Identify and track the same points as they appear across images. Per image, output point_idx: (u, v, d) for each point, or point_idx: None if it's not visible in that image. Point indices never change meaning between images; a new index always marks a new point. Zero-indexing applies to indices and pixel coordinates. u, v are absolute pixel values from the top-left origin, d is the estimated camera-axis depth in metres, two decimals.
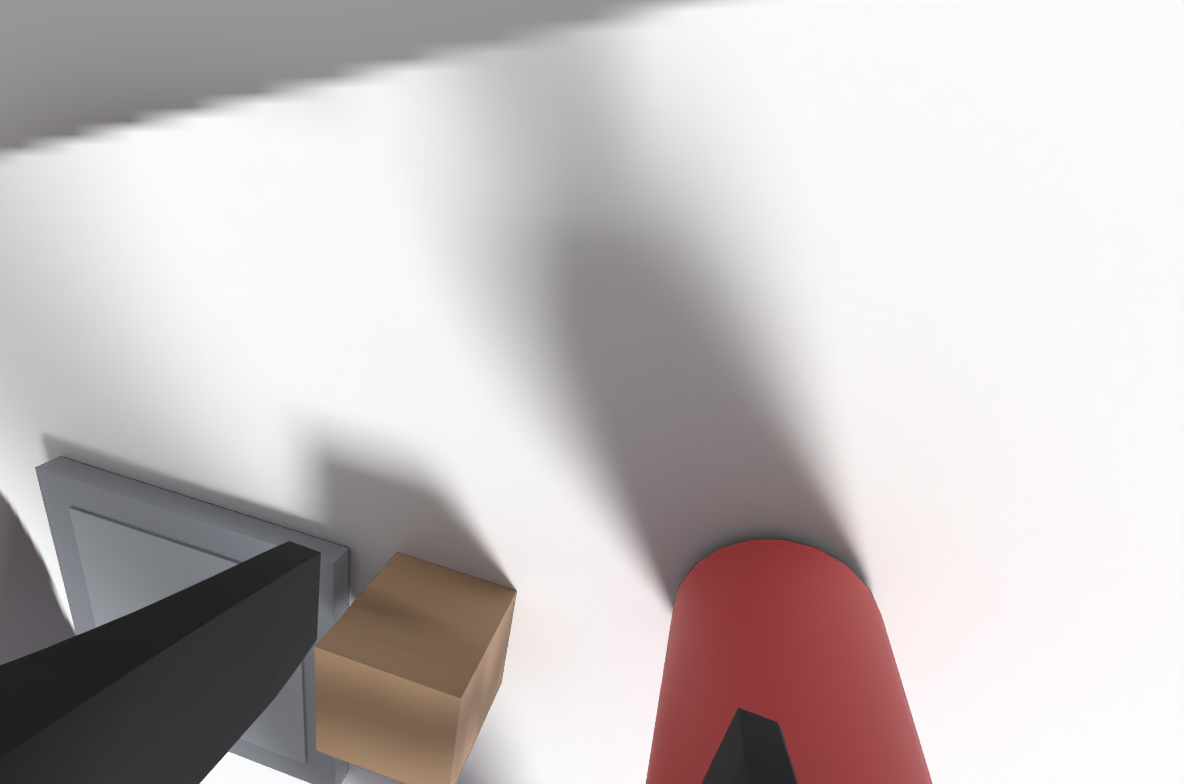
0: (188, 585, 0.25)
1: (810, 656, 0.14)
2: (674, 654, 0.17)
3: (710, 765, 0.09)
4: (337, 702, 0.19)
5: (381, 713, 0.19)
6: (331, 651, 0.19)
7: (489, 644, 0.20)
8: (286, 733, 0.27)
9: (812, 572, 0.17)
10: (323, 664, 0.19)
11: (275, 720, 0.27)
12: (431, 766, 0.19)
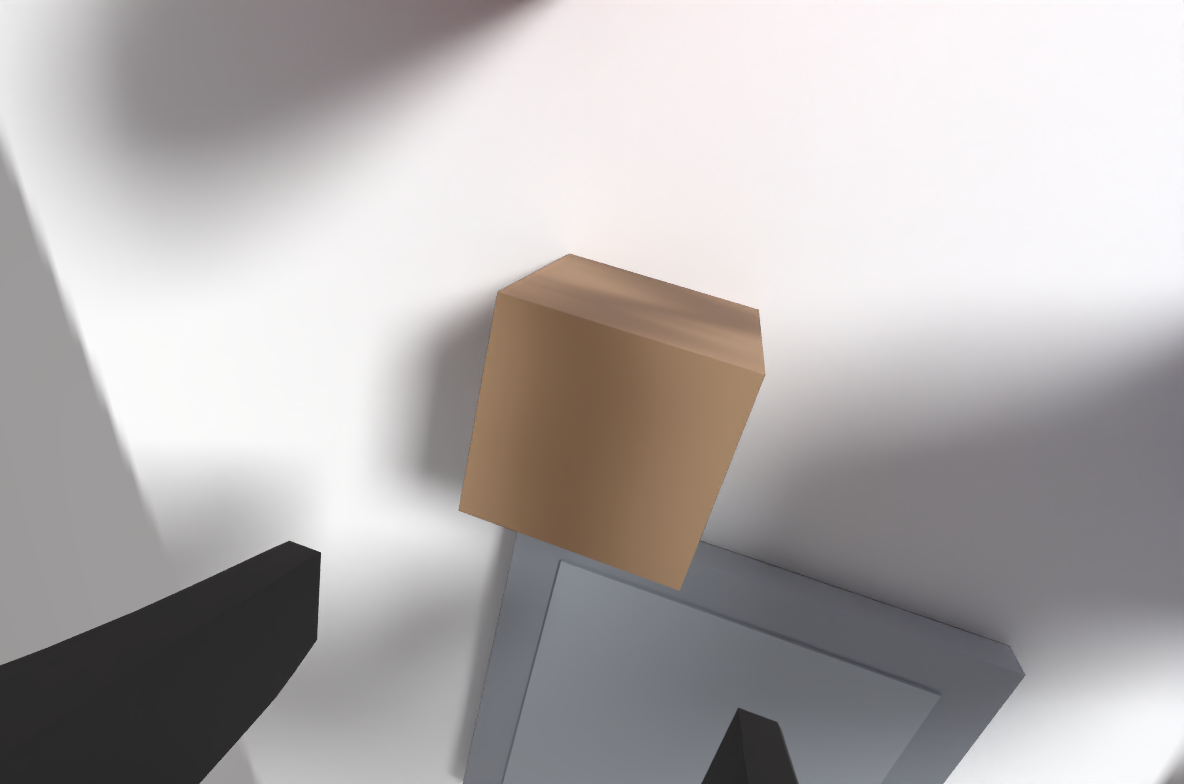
0: (588, 707, 0.19)
1: None
2: None
3: (710, 765, 0.09)
4: (560, 513, 0.12)
5: (565, 445, 0.12)
6: None
7: (543, 272, 0.13)
8: (864, 697, 0.17)
9: None
10: (488, 509, 0.13)
11: (834, 701, 0.17)
12: (673, 386, 0.11)
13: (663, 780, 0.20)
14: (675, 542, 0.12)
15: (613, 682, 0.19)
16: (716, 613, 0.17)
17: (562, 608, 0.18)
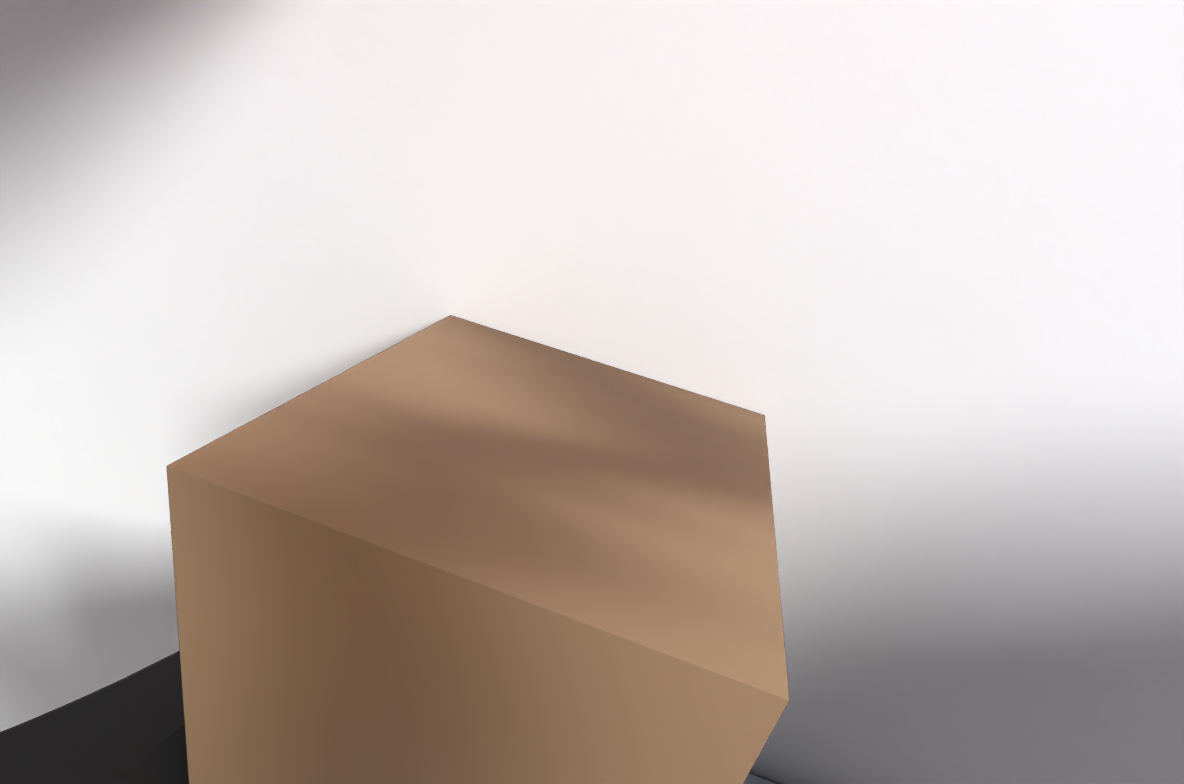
0: None
1: None
2: None
3: None
4: None
5: (359, 764, 0.05)
6: None
7: (355, 374, 0.07)
8: None
9: None
10: None
11: None
12: (571, 693, 0.05)
13: None
14: None
15: None
16: None
17: None
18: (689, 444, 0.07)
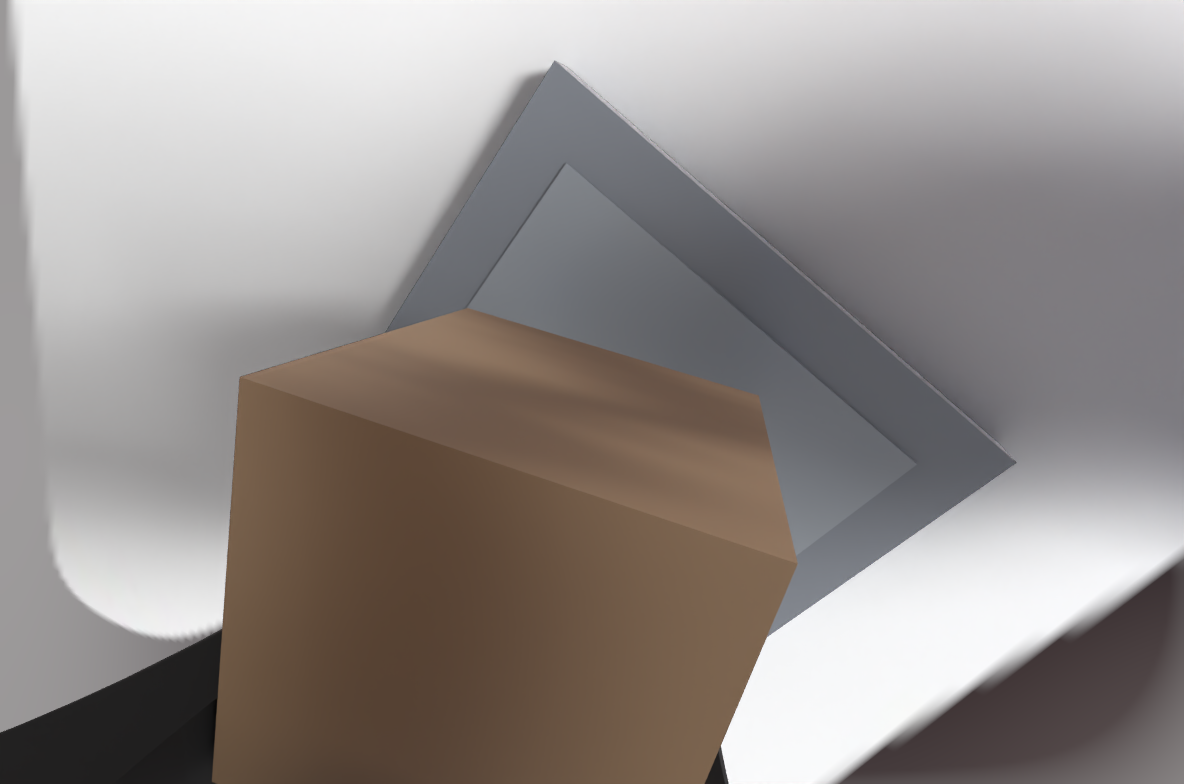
0: None
1: None
2: None
3: None
4: None
5: (392, 680, 0.06)
6: (217, 741, 0.07)
7: (390, 337, 0.07)
8: (835, 445, 0.15)
9: None
10: (264, 783, 0.07)
11: (799, 443, 0.15)
12: (601, 579, 0.05)
13: None
14: None
15: None
16: (721, 293, 0.14)
17: (537, 235, 0.14)
18: (693, 406, 0.08)
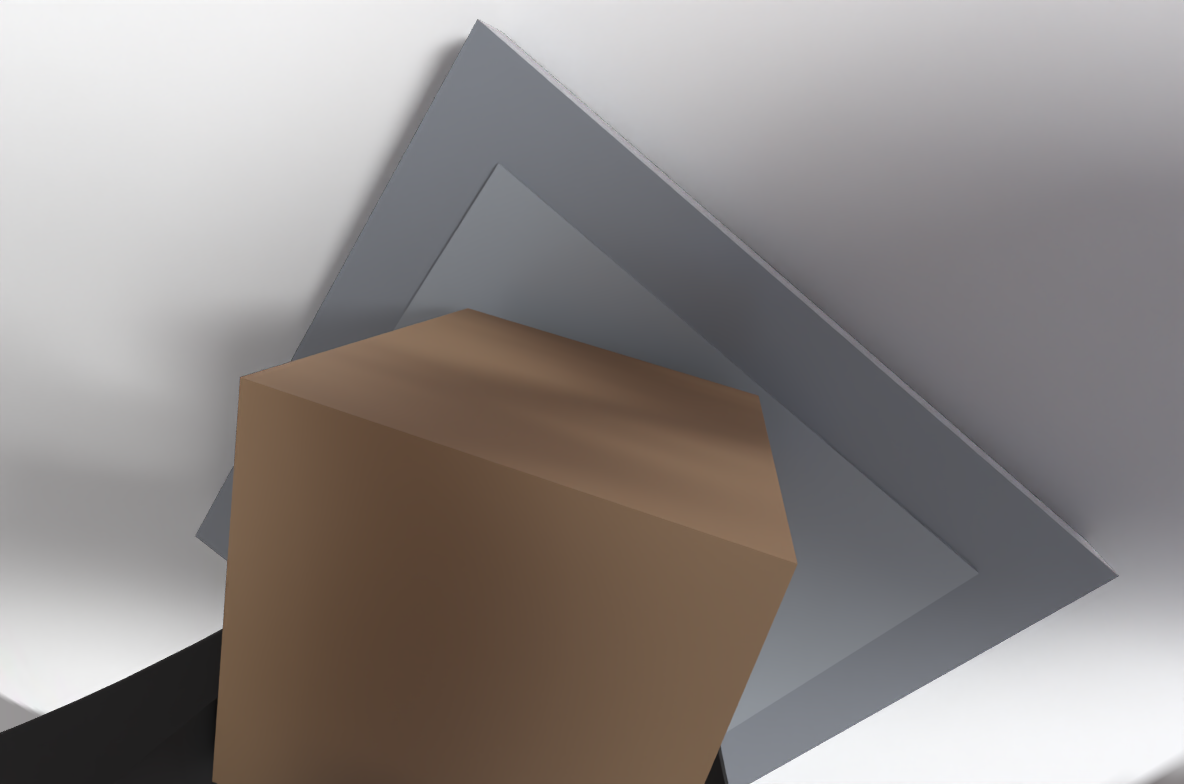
0: None
1: None
2: None
3: None
4: None
5: (393, 679, 0.06)
6: (217, 741, 0.07)
7: (391, 337, 0.07)
8: (867, 544, 0.11)
9: None
10: (265, 783, 0.07)
11: (818, 539, 0.11)
12: (601, 578, 0.05)
13: None
14: None
15: None
16: (713, 342, 0.10)
17: (465, 261, 0.11)
18: (693, 407, 0.08)
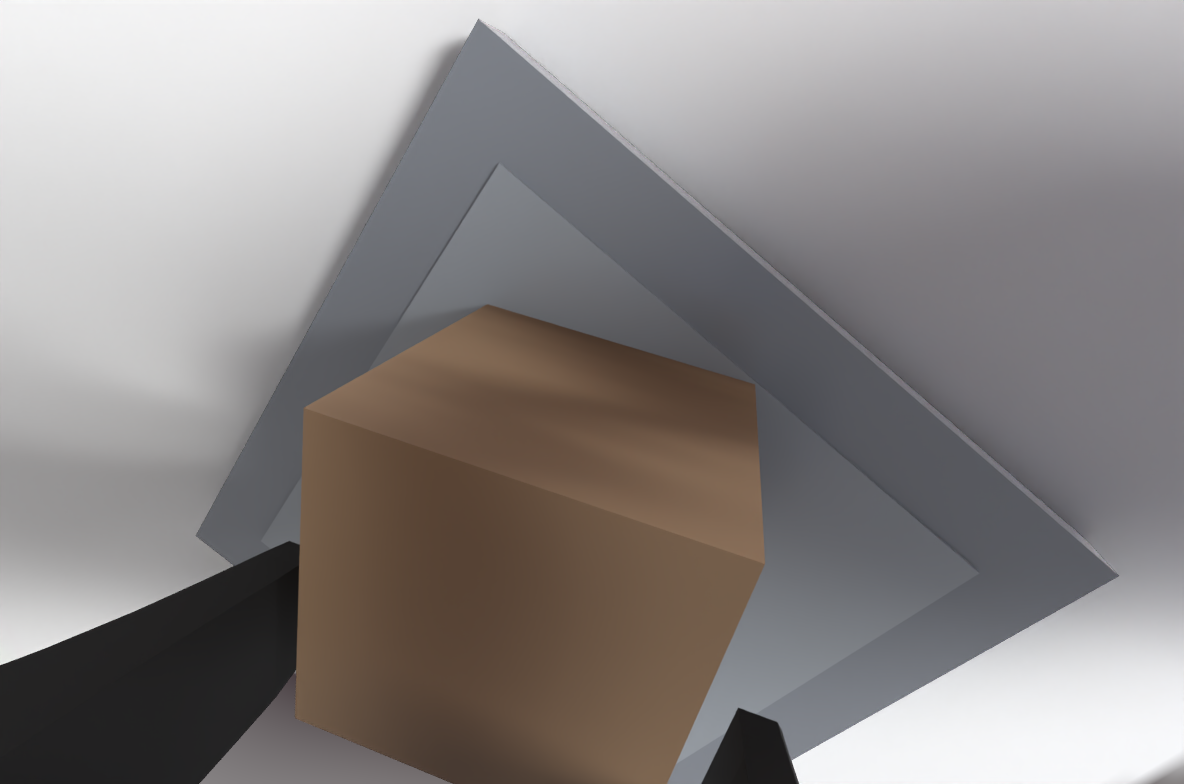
0: None
1: None
2: None
3: (710, 765, 0.09)
4: (443, 737, 0.08)
5: (440, 645, 0.07)
6: (297, 688, 0.08)
7: (422, 349, 0.08)
8: (867, 544, 0.11)
9: None
10: (338, 720, 0.08)
11: (818, 539, 0.11)
12: (606, 571, 0.06)
13: None
14: None
15: None
16: (714, 341, 0.10)
17: (465, 261, 0.11)
18: (691, 403, 0.09)
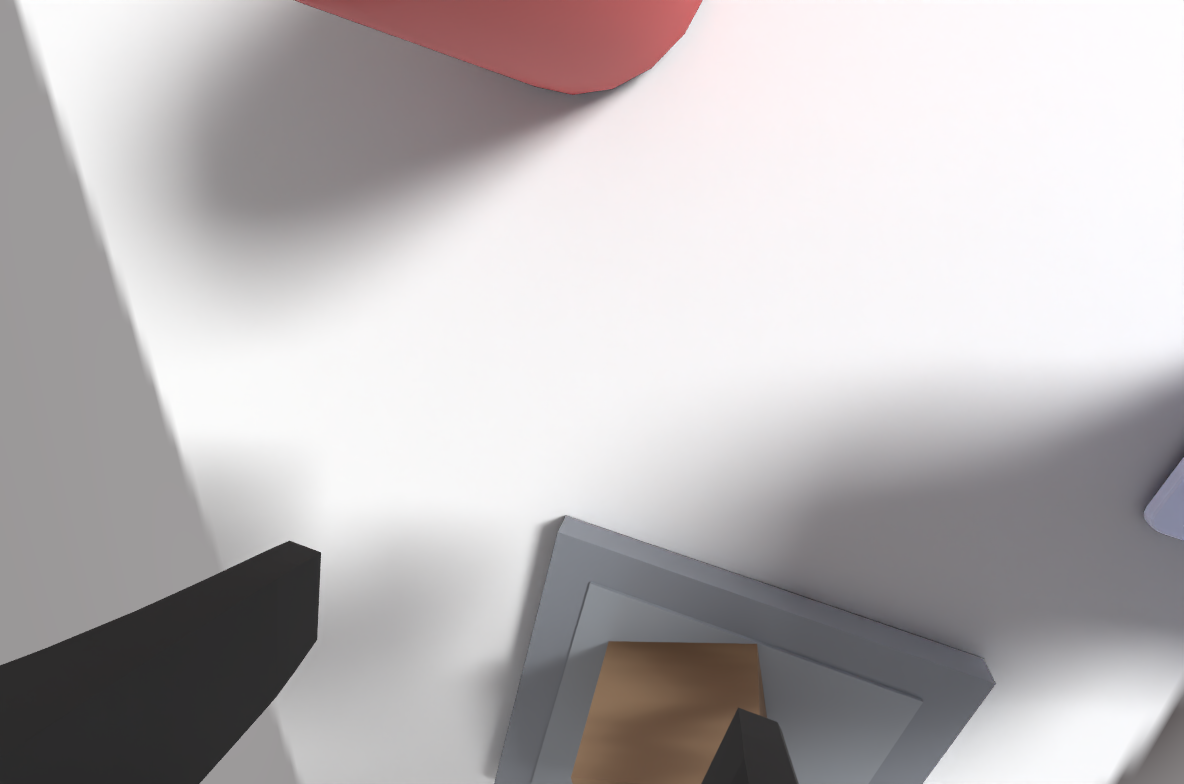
0: None
1: None
2: None
3: (710, 765, 0.09)
4: None
5: None
6: None
7: (594, 706, 0.18)
8: (857, 702, 0.19)
9: None
10: None
11: (831, 706, 0.19)
12: None
13: None
14: None
15: None
16: (727, 629, 0.19)
17: (590, 624, 0.21)
18: (724, 684, 0.18)
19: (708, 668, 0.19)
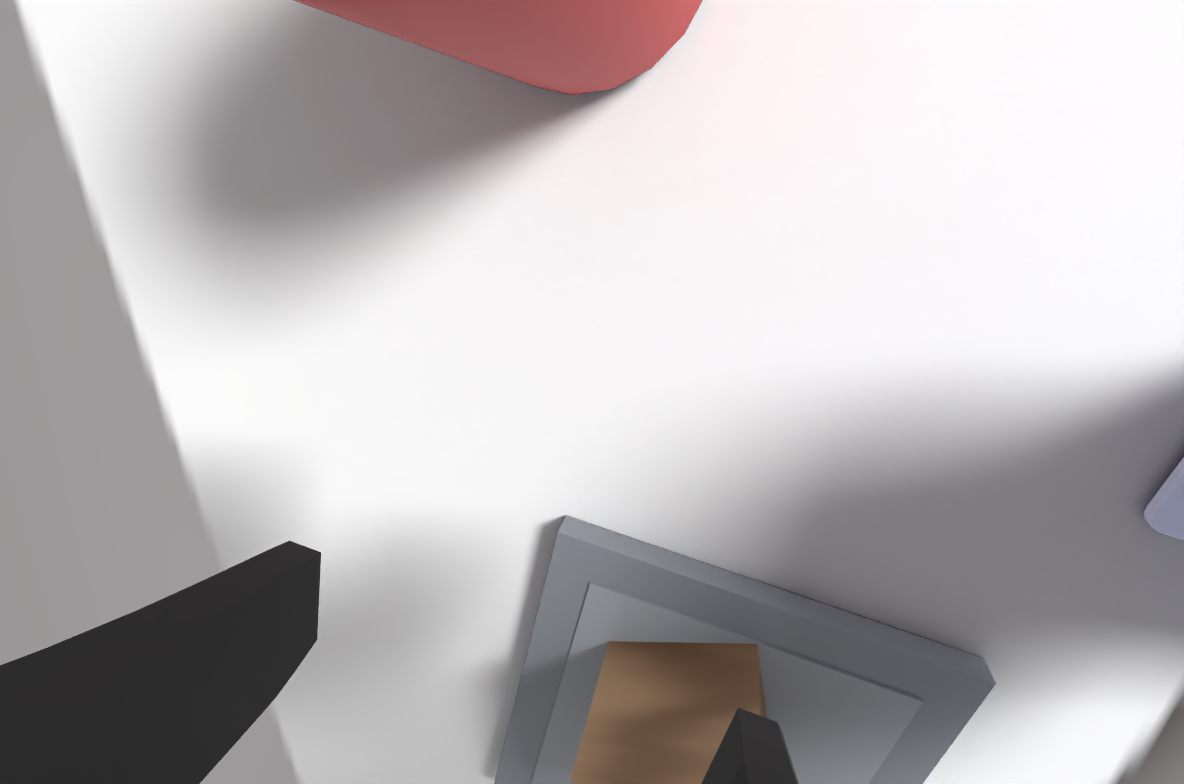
0: None
1: None
2: None
3: (710, 765, 0.09)
4: None
5: None
6: None
7: (594, 706, 0.18)
8: (857, 702, 0.19)
9: None
10: None
11: (831, 706, 0.19)
12: None
13: None
14: None
15: None
16: (727, 629, 0.19)
17: (590, 624, 0.21)
18: (724, 684, 0.18)
19: (708, 668, 0.19)
